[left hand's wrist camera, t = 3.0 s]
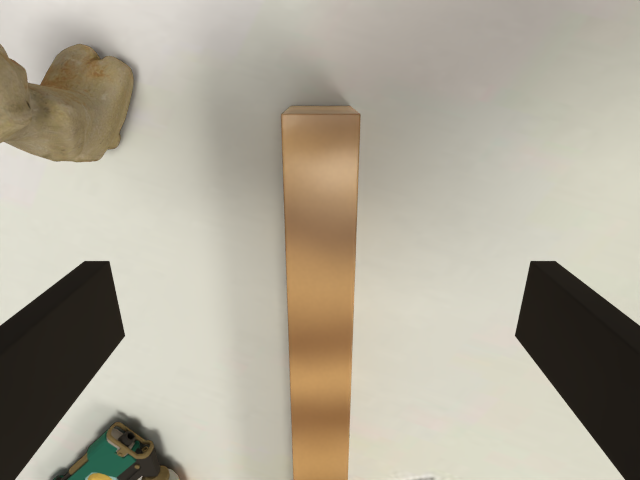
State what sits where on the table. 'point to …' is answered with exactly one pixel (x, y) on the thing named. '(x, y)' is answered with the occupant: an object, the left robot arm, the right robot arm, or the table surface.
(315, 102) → the table surface
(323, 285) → the beam
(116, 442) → the spray gun
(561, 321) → the left robot arm
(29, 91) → the sculpture
